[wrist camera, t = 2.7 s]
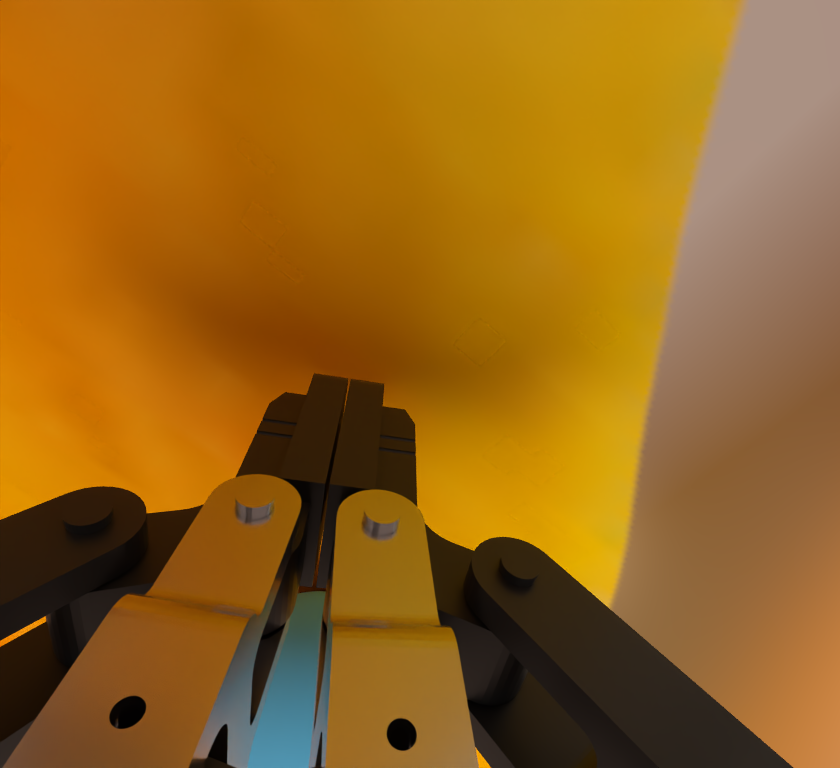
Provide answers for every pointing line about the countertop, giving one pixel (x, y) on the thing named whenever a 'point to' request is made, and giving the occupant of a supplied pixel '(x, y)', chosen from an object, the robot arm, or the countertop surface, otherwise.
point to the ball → (291, 692)
